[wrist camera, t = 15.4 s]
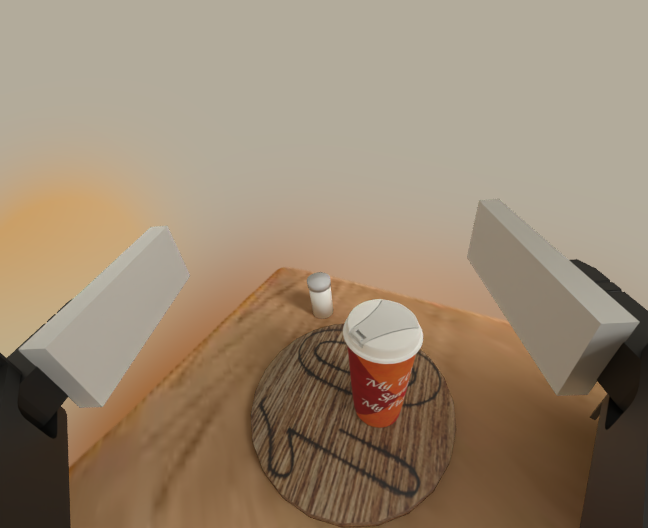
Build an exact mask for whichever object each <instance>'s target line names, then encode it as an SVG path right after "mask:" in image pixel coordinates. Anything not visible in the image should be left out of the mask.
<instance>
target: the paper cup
mask: <svg viewBox="0 0 648 528" xmlns="http://www.w3.org/2000/svg"><path fill="white" fill-rule="evenodd" d="M343 336H344V339H345V342H346V344H347V346H348V356H349V366H350V375H351V385H352V394H353V401H354V407H355V411H356V413H357V415H358V416H359V418H360V419H361V420H362V421H363V422H364V423H366V424H367V425H369V426H372V427H377V428H383V427H387V426H390V425H391V424H393V423H394V422H395V421H396V420H397V418H398V416H399V414H400V411H401V408H402V405H403V401H404V397H405V394H406V390H407V386H408V382H409V379H410V375H411V371H412V367H413V363H414V359H415V355H416V353H417V352H418V351H419V349H420V348H421V346H422V342H423V333H422V329H421V327H420V325H419V324H418V320H417V318H416V316H415V315H414V314H413V313H412V312H411V311H410V310H409V309H408V308H406V307H405V306H403V305H401V304H399V303H396V302H393V301H389V300H383V299H375V300H369V301H365V302H363V303H361V304H359V305H357V306H356V307H355V308H354V309H353V310H352V311H351V312H350V314H349V316H348V318H347V320H346V321H345V323H344V326H343Z"/></svg>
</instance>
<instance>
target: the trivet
mask: <svg viewBox="0 0 648 528" xmlns="http://www.w3.org/2000/svg"><path fill="white" fill-rule="evenodd" d="M343 326H344V324H339V325H331V326H328V327H324V328H321V329H317V330H314V331H312V332H310V333H308V334H306V335H304V336H302V337H300V338H298V339H296V340H295V341H293V342H292V343H291V344H290V345H288V346H287V347H286V348H285V349H283V350H282V351H281V352H280V353H279V354H278V355H277V356H276V358H275V359H274V360H273V361H272V363H271V364H270V365H269V366H268V368H267V369H266V370H265V372H264V374H263V376H262V379H261V381H260V383H259V385H258V387H257V389H256V392H255V397H254V402H253V407H252V412H251V425H252V439H253V444H254V447H255V450H256V452H257V455H258V458H259V461H260V463H261V466H262V469H263V471H264V473H265V474H266V476H267V477H268V478H269V480H270V481H271V482H272V484H273V485H274V486H275V488H276V489H277V490H278V492H279V493H280V494H281V496H282V497H283V498H284V499H285V500H286V501H288V502H289V503H291V504H292V505H293V506H295V507H296V508H298V509H299V510H300V511H302V512H303V513H305V514H306V515H307V516H309V517H310V518H313V519H317V520H320V521H323V522H327V523H330V524H333V525H336V526H340V527H367V526H379V525H381V524H384V523H386V522H389V521H391V520H394V519H396V518H399V517H401V516H404V515H406V514H408V513H410V512H411V511H412V510H413V509H414V508H415V507H417V506H418V505H419V504H420V503H421V502H422V501H423V500H424V499H426V498H427V497H428V496H429V495H430V494H431V493H432V492H433V491H434V490H435V488H436V486H437V484H438V482H439V481H440V479H441V477H442V475H443V474H444V472H445V470H446V468H447V466H448V465H449V462H450V458H451V453H452V448H453V443H454V438H455V433H456V423H455V413H454V402H453V400H452V397H451V395H450V392H449V389H448V387H447V384H446V382H445V379H444V377H443V376H442V374H441V373H440V372H439V370H438V369H437V367H436V366H435V364H434V363H433V362H432V360H431V359H430V358H429V357H428V356H427V355H426V354H425V353H424V352H423V351H421V350H420V349H419V351H418V352H417V353H416V355H415V359H414V363H413V367H412V371H411V375H410V379H409V382H408V386H407V390H406V394H405V397H404V401H403V405H402V408H401V411H400V414H399V416H398V418H397V420H396V421H395V422H394V423H393V424H391V425H390V426H387V427H383V428H377V427H372V426H369V425H367V424H366V423H364V422H363V421H362V420H361V419H360V418H359V416H358V415H357V413H356V411H355V407H354V401H353V394H352V385H351V375H350V366H349V356H348V346H347V344H346V342H345V339H344V336H343Z"/></svg>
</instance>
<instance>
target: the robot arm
mask: <svg viewBox="0 0 648 528" xmlns="http://www.w3.org/2000/svg"><path fill="white" fill-rule="evenodd" d="M467 258H468V260H469V261H470V263H471V264H472V266H473V268H474V269H475V271H476V272H477V274H478V275H479V277H480V278H481V280H482V281H483V283H484V284H485V286H486V288H487V289H488V291H489V292H490V294H491V295H492V297H493V298H494V300H495V301H496V303H497V304H498V306H499V308H500V309H501V311H502V312H503V314H504V315H505V317H506V318H507V320H508V321H509V323H510V324H511V326H512V328H513V329H514V331H515V332H516V334H517V335H518V337H519V338H520V340H521V341H522V343H523V344H524V346H525V348H526V349H527V351H528V352H529V354H530V355H531V357H532V358H533V360H534V361H535V363H536V364H537V366H538V368H539V369H540V371H541V372H542V374H543V375H544V377H545V378H546V380H547V381H548V383H549V384H550V386H551V388H552V389H553V391H554V392H555V394H556V395H557V396H560V395H588V393H589V392H590V390H591V389H592V388H593V386H594V385H595V383H596V382H597V381H598V382H599V383H600V385H601V386H602V387H603V388H604V390H605V391H606V392H607V393H608V394H607V395H606V396H605V398H604V399H603V400H602V402H601V403H600V404H599V405H598V407H597V408H596V409H595V410H594V412H593V413H592V415H591V416H590V418H592V419H594V420H596V419H597V417H598V416H599V415H600V417H599V422H598V428H597V433H596V439H595V445H594V450H593V456H592V461H591V467H590V473H589V478H588V484H587V489H586V495H585V501H584V506H583V512H582V517H581V523H580V528H648V311H647V310H646V309H645V308H643V307H642V306H641V305H640V304H639V303H637V302H636V301H635V300H634V299H632V298H631V297H630V296H629V295H628V294H626V293H625V292H622V291H621V289H620V288H619V287H618V286H617V285H615V284H614V283H612V282H610V280H609V279H608V278H607V277H606V276H604V275H603V274H602V273H600V272H599V271H598V270H597V269H596V268H594V267H591V266H590V265H587V264H585V263H583V262H581V261H579V260H577V259H576V260H568V259H567V258H566V257H565V256H564V255H562V254H561V253H560V252H559V251H558V250H557V249H556V248H555V247H553V246H552V245H551V244H550V243H549V242H548V241H547V240H545V239H544V238H543V237H542V236H541V235H540V234H539V233H537V232H536V231H535V230H534V229H533V228H532V227H531V226H529V225H528V224H527V223H526V222H525V221H524V220H523V219H521V218H520V217H519V216H518V215H517V214H516V213H514V212H513V211H512V210H511V209H510V208H509V207H508V206H507V205H505V204H504V203H503V202H502V201H501V200H500V199H491V200H479V203H478V207H477V212H476V217H475V222H474V227H473V232H472V237H471V241H470V246H469V251H468V256H467ZM189 277H190V274H189V272H188V270H187V268H186V266H185V263H184V261H183V259H182V257H181V255H180V252H179V250H178V248H177V246H176V244H175V242H174V239H173V237H172V235H171V233H170V231H169V228H168V226H159V227H151V228H149V229H148V230H147V231H146V232H145V233H144V234H143V235H142V236H141V237H140V238H139V239H137V240H136V241H135V242H134V243H133V244H132V245H131V246H130V247H129V248H128V249H127V250H126V251H125V252H123V254H121V255H120V256H119V257H118V258H117V259H116V260H115V261H114V262H113V263H111V265H109V266H108V267H107V268H106V269H105V270H104V271H103V272H102V273H101V274H100V275H98V276H97V278H95V279H94V280H93V281H92V282H91V283H90V284H89V285H88V286H86V287H85V288H84V289H83V290H82V291H81V292H80V293H79V294H78V295H77V296H76V297H75V298H73V299H72V300H70V301H69V302H67V303H66V304H65V305H64V306H63V307H62V308H61V309H60V310H59V311H58V312H57V314H54V315H53V316H52V317H51V318H50V319H49V320H48V321H47V323H46V324H43V325H42V326H41V327H40V328H39V329H38V330H37V331H36V332H35V333H34V334H33V335H31V336H30V337H29V338H28V339H27V340H26V341H25V342H24V343H23V344H22V345H21V346H20V347H18V348H17V349H16V350H15V351H14V352H13V353H12V354H11V355H10V356H8V357H7V358H6V357H4V356H3V355H2V354H1V353H0V528H70V498H69V466H68V434H67V414H66V411H65V409H63V408H62V407H61V405H62V404H63V402H64V401H65V400H66V399H67V397H69V398H70V399H71V400H72V401H73V402H74V403H75V404H77V405H78V406H79V407H80V408H82V407H103V406H104V404H105V403H106V401H107V400H108V398H109V397H110V395H111V394H112V392H113V391H114V389H115V388H116V386H117V385H118V383H119V382H120V380H121V379H122V377H123V376H124V374H125V373H126V371H127V369H128V368H129V367H130V365H131V364H132V362H133V361H134V359H135V358H136V356H137V355H138V353H139V352H140V350H141V349H142V347H143V346H144V344H145V343H146V341H147V340H148V338H149V337H150V335H151V334H152V332H153V331H154V329H155V328H156V326H157V325H158V323H159V322H160V320H161V319H162V317H163V316H164V314H165V313H166V311H167V310H168V308H169V307H170V305H171V304H172V302H173V301H174V299H175V298H176V296H177V295H178V293H179V292H180V290H181V289H182V287H183V286H184V284H185V283H186V281H187V280H188V278H189Z"/></svg>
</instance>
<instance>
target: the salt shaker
mask: <svg viewBox="0 0 648 528" xmlns="http://www.w3.org/2000/svg"><path fill="white" fill-rule="evenodd" d="M307 284H308V288H309V292H310V298H311V303H312V309H313V314H314V316H315V317H317V318H320V319H325V318H328V317H330V316H331V315H332V314H333V303H332V295H331V287H330V286H331V281H330V276H329V275H328V274H326V273H322V272H318V273H314V274H312V275H310V276H309V277H308V279H307Z"/></svg>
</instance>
